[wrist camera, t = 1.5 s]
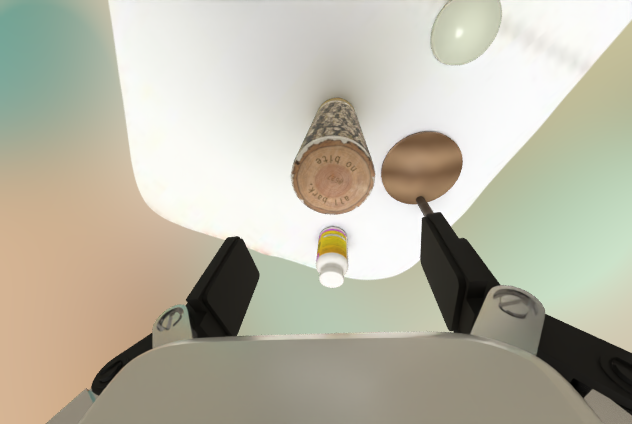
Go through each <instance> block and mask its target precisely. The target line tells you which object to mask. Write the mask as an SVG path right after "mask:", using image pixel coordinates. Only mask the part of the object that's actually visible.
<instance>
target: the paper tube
mask: <svg viewBox="0 0 632 424" xmlns="http://www.w3.org/2000/svg"><path fill="white" fill-rule="evenodd" d="M291 181H292V186H293V189H294V191H295V193H296V195H297V197H298V198H299V199H300V200H301V201H302V203H304V204H305V205H306V206H307V207H309V208H310V209H312V210H314V211H317V212H319V213H323V214H330V215H335V214H343V213H347V212H349V211H352V210H354V209H355V208H357V207H359V206H360V205H361V204H362V203H363V202H364V201H365V200H366V199H367V198H368V197H369V195H370V193H371V191H372V189H373V186H374V181H375V171H374V166H373V162H372V159H371V156H370V153H369V150H368V148H367V145H366V142H365V139H364V136H363V133H362V130H361V127H360V125H359V122H358V119H357V116H356V113H355V111H354V108H353V107H352V105H351V104H350V103H349V102H348V101H346V100H344V99H341V98H332V99H329V100H327V101H326V102H324V103H323V104H322V105H321V106H320V108H319V110H318V112H317V114H316V116H315V118H314V120H313V122H312V124H311V126H310V128H309V131H308V133H307V135H306V137H305V139H304V141H303V143H302V145H301V147H300V150H299V152H298V154H297V156H296V158H295V160H294V163H293V166H292V171H291Z"/></svg>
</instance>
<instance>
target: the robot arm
mask: <svg viewBox="0 0 632 424" xmlns="http://www.w3.org/2000/svg"><path fill="white" fill-rule="evenodd" d="M420 259H421V264H422V267H423V270H424V272H425V275H426V277H427V279H428V282H429V284H430V287H431V289H432V292H433V294H434V296H435V299H436V301H437V303H438V306H439V308H440V311H441V313H442V316H443V318H444V321H445V323H446V325H447V327H448V329H449V331H454V333H451V332H450V333H449V332H371V333H330V334H329V333H328V334H292V335H291V334H290V335H258V336H237V334H238V332H239V329H240V326H241V324H242V321H243V319H244V316H245V314H246V311H247V308H248V306H249V303H250V300H251V298H252V295H253V293H254V290H255V288H256V285H257V282H258V280H259V271H258V269H257V267H256V265H255V263H254V261H253V259H252V257H251V255H250V253H249V251H248V249H247V247H246V245H245V243H244V241H243V239H240V237H238V236H236V237H228V238H227V239H226V240H225V242H224V243H223V244H222V246H221V248H220V249H219V251H218V252H217V254H216V255H215V257H214V258H213V260H212V261H211V263H210V264H209V266H208V267H207V269H206V270H205V272H204V273H203V275H202V276H201V278H200V279H199V281H198V282H197V284H196V285H195V287H194V288H193V290H192V291H191V293H190V294H189V296H188V297H187V299H186V301H187V302H188V303H187V304H186V306H185V305H175V306H173V307H171V308H169V309H167V310H166V311H164V312H163V313H162V314H161V315H160V316H159V317H158V319H157V320H156V322H155V323H154V325H153V329H152V330H153V331H152V333H151V334H150V335H148V336H147V337H145V338H144V339H142V340H141V341H139V342H138V343H136V344H135V345H133V346H132V347H130V348H129V349H127V350H126V351H124V352H123V353H121V354H119V355H118V356H116V357H115V358H113V359H112V360H111V361H110V362H108V363H107V364H106V365H105V366H104V367H103V368H102V369H101V370H100V371H99V373H98V374H97V375H96V377H95V379H94V381H93V383H92V386H91V389H90V390H88V389H87V388H86V389H85V390H84V391H82V392H81V393H80V394H79V395H78V396H77V397H76V398H74V399H73V400H72V401H71V402H70V403H69V404H68V405H67V406H65V407H64V408H63V409H62V410H61V411H60V412H59V413H57V414H56V415H55V416H54V417H53V418H52V419H51V420H49V422H47V423H46V424H632V353H630V352H628V351H626V350H624V349H621V348H619V347H617V346H615V345H612V344H610V343H608V342H606V341H604V340H602V339H599V338H597V337H595V336H593V335H590V334H588V333H586V332H584V331H582V330H580V329H577V328H575V327H573V326H571V325H569V324H566V323H564V322H562V321H560V320H557V319H555V318H553V317H551V316H549V315H547V314H545V309H544V307H543V305H542V303H541V302H540V301H539V300H538V299H537V298H536V297H535V296H533V295H532V294H530V293H528V292H527V291H525V290H522V289H520V288H517V287H513V286H506V285H500V284H499V282H498V281H497V280H496V278H495V277H494V276H493V274H492V273H491V272H490V270H489V269H488V268H487V266H486V265H485V263H484V262H483V261H482V259H481V258H480V257H479V255H478V254H477V253H476V251H475V250H474V249H473V247H472V246H471V245H470V243H469V242H468V241H467V240H466V239H465V238H458V236H457V235H456V234H455V232H454V231H453V229H452V228H451V226H450V225H449V224H448V222H447V221H446V219H445V218H444V216H443V215H442V214H441V212H437V213H429V214H427V215H426V217H423V218H422V232H421V256H420Z"/></svg>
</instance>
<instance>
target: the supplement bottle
mask: <svg viewBox="0 0 632 424" xmlns="http://www.w3.org/2000/svg"><path fill="white" fill-rule="evenodd" d="M316 268H317V271H318V272H319V273H320V278H319V280H320V282H321V283H322V285H324V286H326V287H329V288H330V287H331V288H335V287H339V286H340V285H341V284H343V281H344V274H345V273H346V272H347V270H348V248H347V236H346V234H345V232H344V231H343V230H341V229H340V228H337V227H329V228H326V229H324V230H323V231H322V232H321V233H320V235H319V242H318V251H317V260H316Z"/></svg>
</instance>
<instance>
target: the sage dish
mask: <svg viewBox="0 0 632 424" xmlns="http://www.w3.org/2000/svg"><path fill="white" fill-rule="evenodd" d="M501 18H502V9H501V4H500V1H499V0H451V1H450V2H448V3H447V4H446V5H445V6H444V8H443V9H442V10H441V11H440V13H439V15H438V16H437V18H436V20H435V22H434V25H433V28H432V32H431V49H432V52H433V54H434V56H435V57H436V58H437V60H439V61H440V62H441V63H443V64H446V65H463V64H466V63H469V62H471V61H473V60H475V59H476V58H478V57H479V56H480V55H482V54H483V53H484V52H485V51H486V50H487V49H488V47H489V46H490V45H491V43H492V42H493V40H494V39H495V37H496V35H497V33H498V30H499V27H500V24H501Z"/></svg>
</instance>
